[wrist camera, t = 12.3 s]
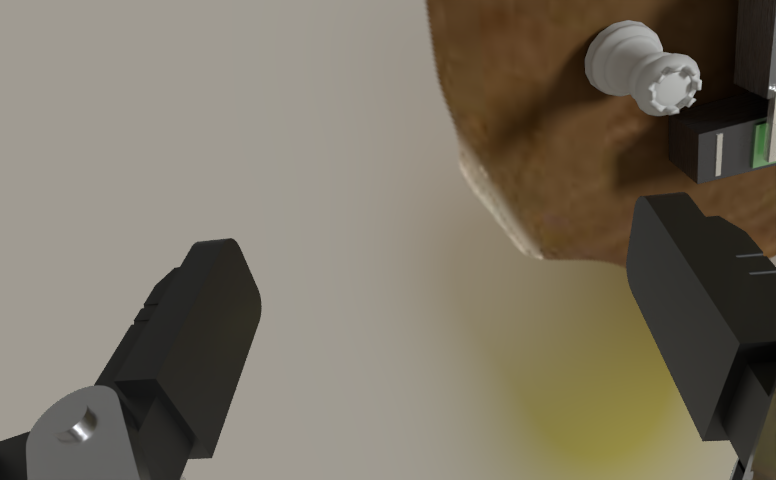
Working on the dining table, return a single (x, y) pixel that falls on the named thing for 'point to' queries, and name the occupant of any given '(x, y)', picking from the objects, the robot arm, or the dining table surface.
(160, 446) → the robot arm
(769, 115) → the gauge plate
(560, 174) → the dining table surface
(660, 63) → the rook chess piece
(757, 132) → the gauge frame
